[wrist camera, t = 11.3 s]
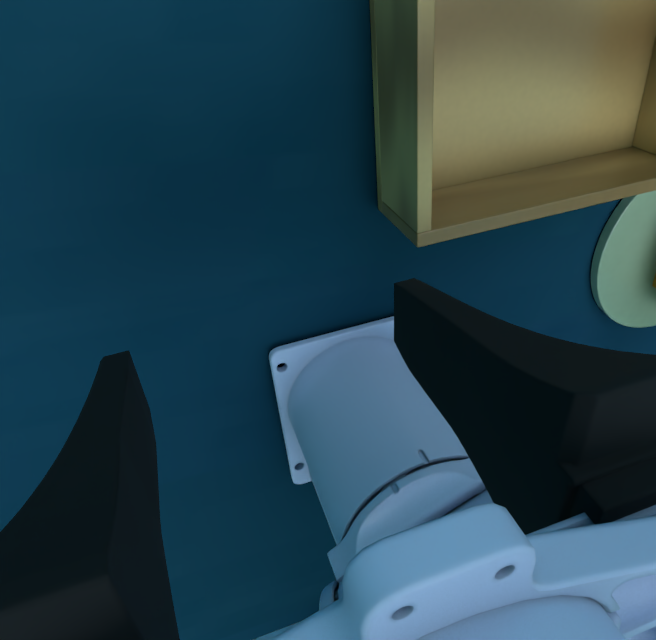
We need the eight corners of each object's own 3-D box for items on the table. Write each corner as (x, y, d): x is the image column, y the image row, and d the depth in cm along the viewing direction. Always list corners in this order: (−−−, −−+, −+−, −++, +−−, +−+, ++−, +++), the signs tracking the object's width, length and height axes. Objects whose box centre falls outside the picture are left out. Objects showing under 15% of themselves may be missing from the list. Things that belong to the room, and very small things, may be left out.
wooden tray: (631, 153, 28) (699, 180, 24) (377, 209, 25) (417, 248, 22) (707, -197, 20) (818, -223, 17) (361, -171, 18) (417, -197, 14)
